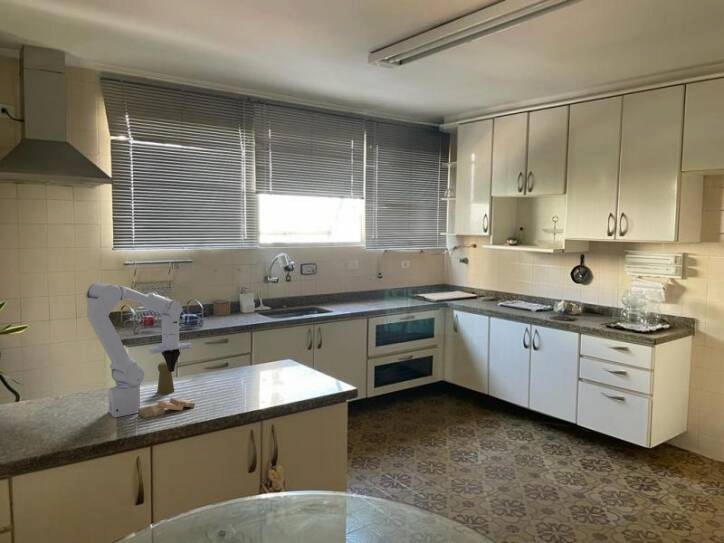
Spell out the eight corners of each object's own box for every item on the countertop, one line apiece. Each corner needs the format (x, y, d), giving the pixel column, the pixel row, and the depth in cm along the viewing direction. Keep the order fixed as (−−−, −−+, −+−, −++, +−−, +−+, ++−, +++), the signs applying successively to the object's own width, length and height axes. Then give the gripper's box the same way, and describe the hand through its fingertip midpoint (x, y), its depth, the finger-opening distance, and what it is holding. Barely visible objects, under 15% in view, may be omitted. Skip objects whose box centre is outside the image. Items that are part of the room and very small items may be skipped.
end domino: (194, 407, 186) (177, 405, 181) (186, 404, 189) (169, 402, 184) (195, 403, 186) (178, 401, 181) (187, 400, 189) (170, 398, 184)
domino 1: (164, 416, 179) (144, 420, 175) (158, 412, 183) (138, 416, 179) (164, 411, 179) (144, 416, 175) (158, 408, 183) (138, 412, 178)
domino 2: (182, 410, 183) (165, 408, 178) (174, 406, 186) (157, 404, 181) (183, 406, 183) (166, 404, 178) (175, 402, 186) (158, 400, 181)
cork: (170, 394, 199) (170, 364, 198) (154, 394, 200) (153, 364, 199) (176, 389, 205) (176, 360, 204) (160, 389, 206) (160, 360, 205)
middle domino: (164, 412, 178) (144, 417, 174) (157, 408, 182) (138, 413, 177) (164, 408, 178) (144, 412, 174) (157, 404, 182) (138, 408, 177)
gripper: (186, 329, 200) (187, 365, 202) (145, 333, 191) (146, 371, 193) (193, 332, 195) (194, 369, 196) (152, 337, 186) (153, 376, 187)
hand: (171, 371), depth 194 cm, fingers closed
